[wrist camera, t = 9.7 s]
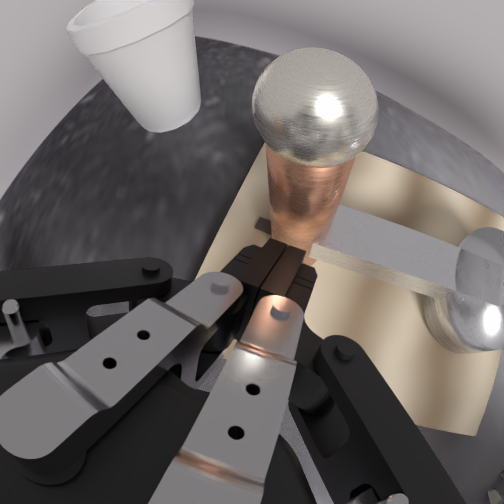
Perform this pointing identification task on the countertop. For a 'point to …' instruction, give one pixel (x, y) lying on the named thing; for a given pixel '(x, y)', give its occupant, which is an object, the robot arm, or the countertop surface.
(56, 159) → the countertop surface
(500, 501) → the caliper
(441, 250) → the lever
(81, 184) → the countertop surface
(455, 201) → the stand plate
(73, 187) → the countertop surface
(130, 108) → the foam cup
